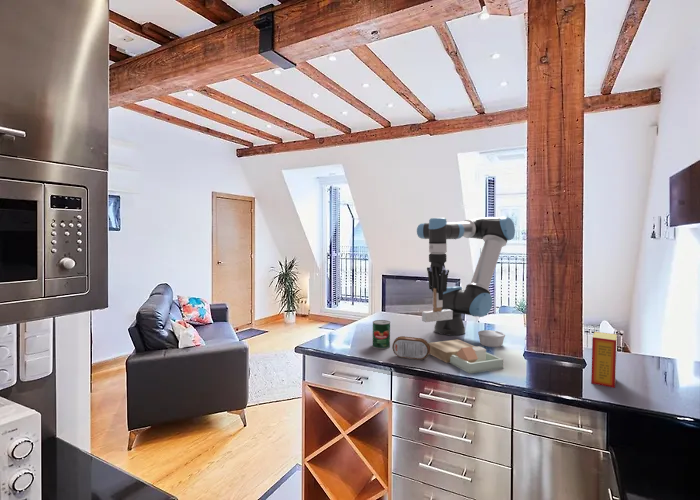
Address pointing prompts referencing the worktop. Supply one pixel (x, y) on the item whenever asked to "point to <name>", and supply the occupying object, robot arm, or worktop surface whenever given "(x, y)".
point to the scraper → (436, 312)
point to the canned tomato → (381, 334)
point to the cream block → (480, 353)
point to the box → (478, 364)
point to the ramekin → (491, 338)
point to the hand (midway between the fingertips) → (437, 306)
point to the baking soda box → (604, 359)
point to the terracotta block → (467, 354)
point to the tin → (411, 347)
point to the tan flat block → (447, 349)
